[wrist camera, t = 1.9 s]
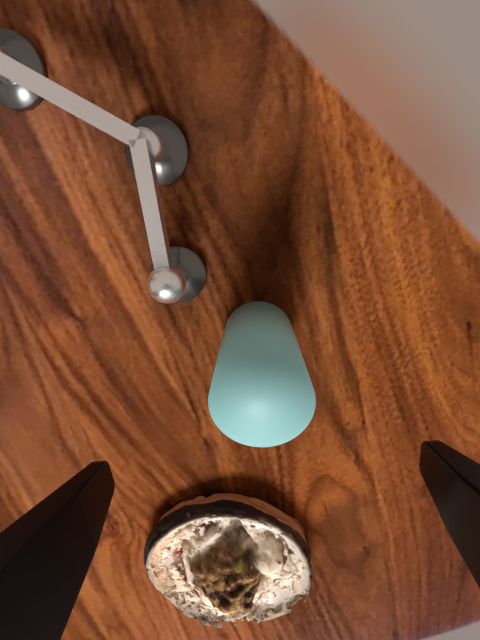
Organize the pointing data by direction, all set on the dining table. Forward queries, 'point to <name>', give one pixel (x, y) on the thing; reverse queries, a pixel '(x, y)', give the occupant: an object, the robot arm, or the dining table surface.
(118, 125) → the railing
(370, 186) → the dining table surface
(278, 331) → the peg
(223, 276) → the dining table surface
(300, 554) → the sushi roll
